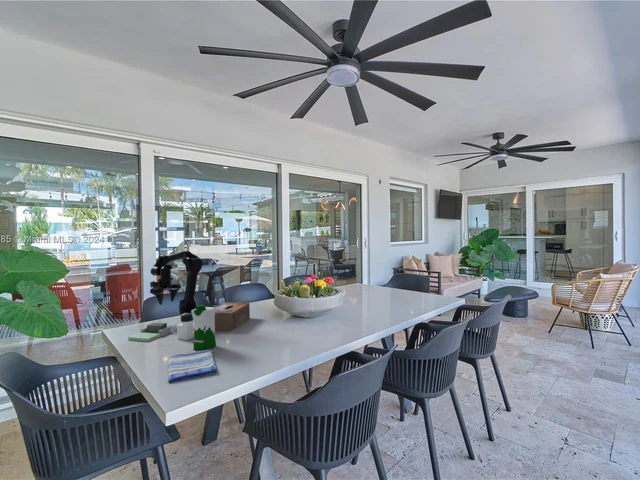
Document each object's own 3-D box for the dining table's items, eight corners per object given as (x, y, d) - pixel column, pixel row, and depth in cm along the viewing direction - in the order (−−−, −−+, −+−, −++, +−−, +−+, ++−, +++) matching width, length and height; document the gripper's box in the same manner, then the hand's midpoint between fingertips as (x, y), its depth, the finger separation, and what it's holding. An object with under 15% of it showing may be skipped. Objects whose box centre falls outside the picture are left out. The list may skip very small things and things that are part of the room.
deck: (170, 332, 171) (170, 326, 171) (148, 341, 156) (148, 335, 156) (151, 331, 174) (151, 325, 174) (127, 340, 160) (127, 334, 160)
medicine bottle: (198, 336, 164) (197, 312, 163) (187, 340, 157) (186, 316, 157) (188, 334, 167) (187, 311, 166) (176, 338, 160) (176, 315, 160)
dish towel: (212, 353, 140) (212, 347, 140) (218, 375, 119) (218, 367, 119) (168, 361, 133) (168, 354, 133) (166, 385, 112) (166, 377, 112)
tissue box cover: (227, 318, 199) (227, 302, 198) (249, 318, 196) (249, 302, 196) (206, 331, 173) (206, 312, 173) (232, 331, 171) (231, 313, 171)
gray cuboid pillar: (167, 332, 172) (166, 323, 172) (161, 335, 167) (160, 325, 167) (153, 331, 173) (153, 322, 173) (147, 334, 168) (146, 325, 168)
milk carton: (190, 350, 144) (189, 306, 143) (203, 343, 152) (202, 301, 152) (206, 352, 141) (205, 307, 140) (219, 345, 149) (218, 302, 149)
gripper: (166, 274, 200) (166, 299, 200) (141, 278, 182) (142, 305, 182) (181, 274, 197) (181, 299, 197) (158, 278, 179) (158, 306, 179)
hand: (166, 302), depth 189 cm, fingers open, 9 cm apart
